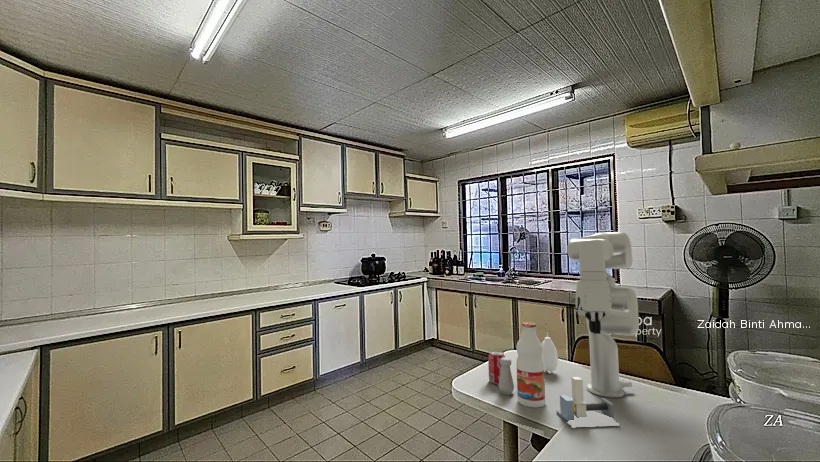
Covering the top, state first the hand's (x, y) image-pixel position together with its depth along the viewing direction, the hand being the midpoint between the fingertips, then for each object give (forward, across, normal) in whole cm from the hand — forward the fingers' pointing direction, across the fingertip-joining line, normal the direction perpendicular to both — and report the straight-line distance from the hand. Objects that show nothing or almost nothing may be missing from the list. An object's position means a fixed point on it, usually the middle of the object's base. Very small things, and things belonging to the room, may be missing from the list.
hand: (595, 332), depth 114 cm
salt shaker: (+27, +23, -22) cm, 42 cm away
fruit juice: (+27, +17, -13) cm, 35 cm away
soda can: (+27, +23, -33) cm, 49 cm away
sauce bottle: (+28, -3, -42) cm, 50 cm away
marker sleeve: (+25, +7, +1) cm, 26 cm away
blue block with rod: (+27, +5, +1) cm, 27 cm away
